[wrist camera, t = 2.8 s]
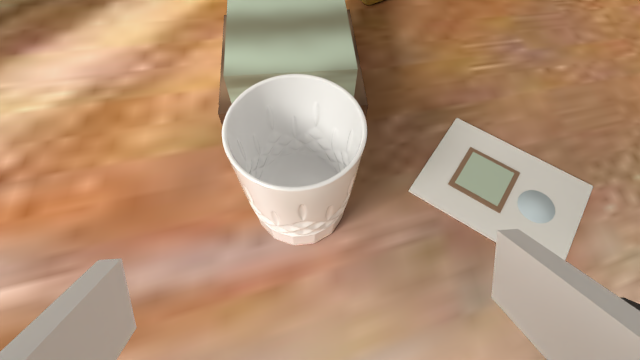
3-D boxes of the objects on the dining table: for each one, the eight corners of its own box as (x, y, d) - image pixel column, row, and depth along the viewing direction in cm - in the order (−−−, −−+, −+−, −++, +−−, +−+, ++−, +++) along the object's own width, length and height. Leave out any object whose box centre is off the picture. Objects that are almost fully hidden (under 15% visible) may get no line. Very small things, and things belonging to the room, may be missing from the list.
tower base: (363, 127, 32) (372, 78, 27) (226, 136, 32) (208, 87, 27) (346, 35, 38) (352, -21, 33) (230, 40, 38) (216, -15, 32)
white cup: (229, 204, 29) (192, 124, 20) (302, 145, 31) (298, 53, 23) (298, 276, 26) (290, 221, 17) (371, 205, 29) (397, 127, 20)
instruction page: (408, 191, 29) (409, 189, 29) (455, 119, 33) (457, 116, 33) (557, 278, 26) (560, 277, 26) (591, 187, 30) (594, 185, 29)
